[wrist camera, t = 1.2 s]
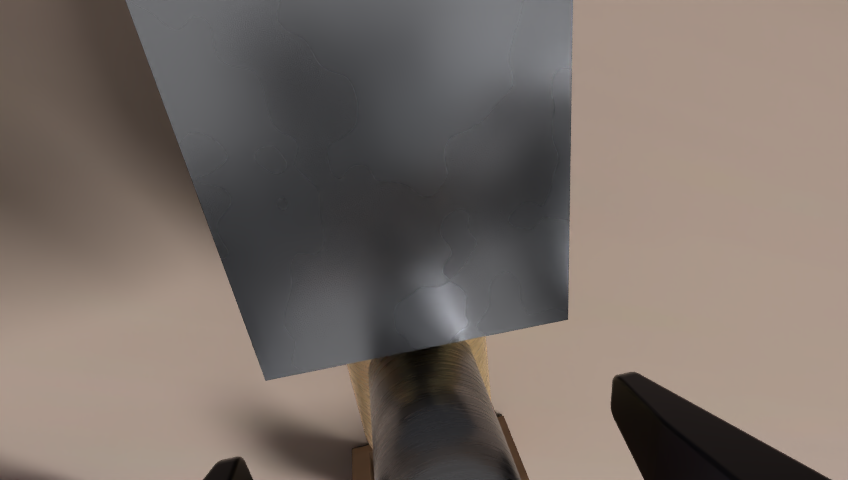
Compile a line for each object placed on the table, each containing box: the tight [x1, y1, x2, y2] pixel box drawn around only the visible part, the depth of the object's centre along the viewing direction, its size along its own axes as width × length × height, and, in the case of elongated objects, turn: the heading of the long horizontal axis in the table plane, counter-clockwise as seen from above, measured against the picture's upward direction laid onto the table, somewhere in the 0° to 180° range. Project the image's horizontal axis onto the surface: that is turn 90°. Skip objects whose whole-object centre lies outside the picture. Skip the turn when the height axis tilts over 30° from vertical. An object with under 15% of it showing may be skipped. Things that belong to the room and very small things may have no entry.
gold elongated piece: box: [347, 336, 521, 480], centre depth 8 cm, size 10×4×8 cm, turn 8°
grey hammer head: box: [126, 0, 573, 380], centre depth 9 cm, size 6×6×5 cm
